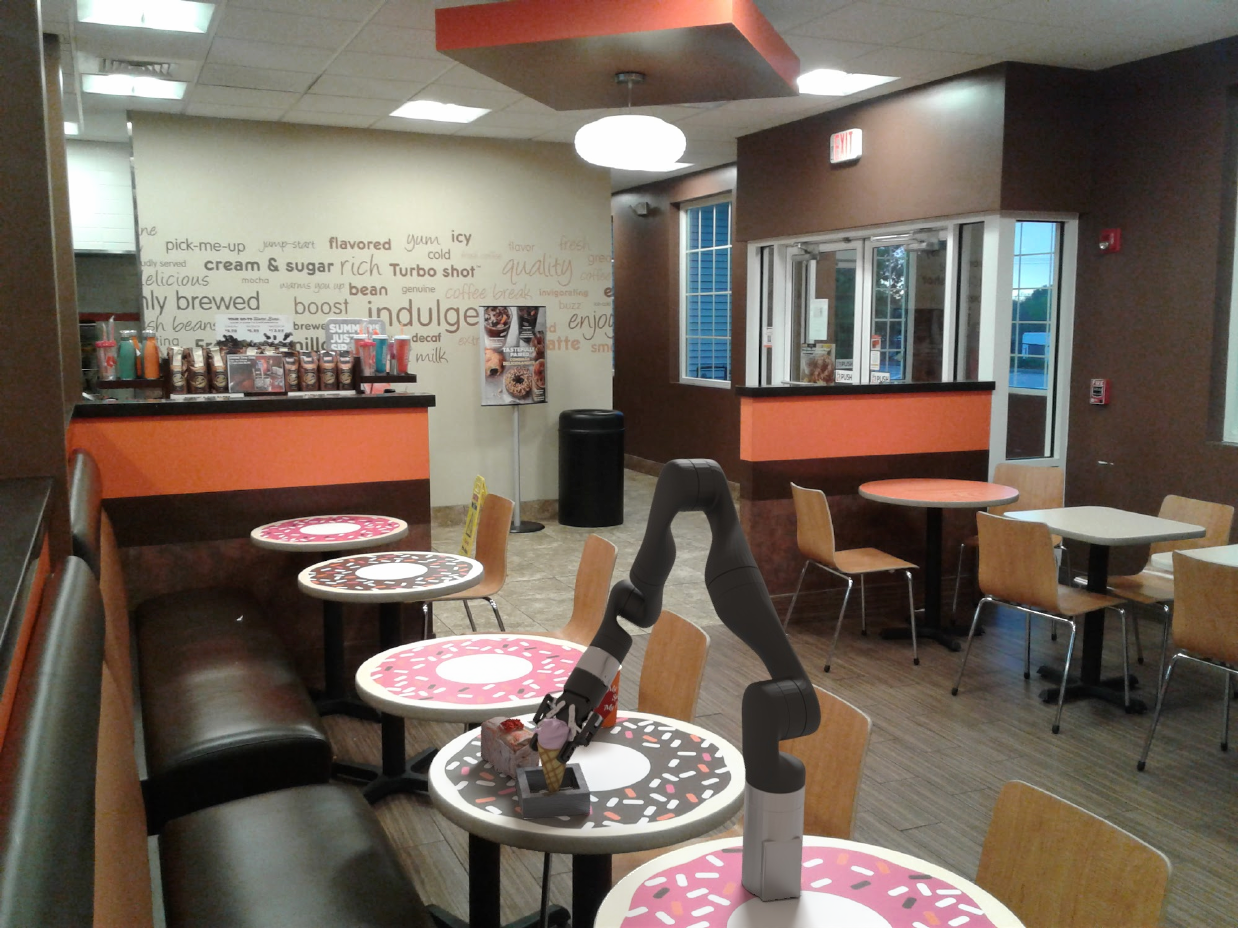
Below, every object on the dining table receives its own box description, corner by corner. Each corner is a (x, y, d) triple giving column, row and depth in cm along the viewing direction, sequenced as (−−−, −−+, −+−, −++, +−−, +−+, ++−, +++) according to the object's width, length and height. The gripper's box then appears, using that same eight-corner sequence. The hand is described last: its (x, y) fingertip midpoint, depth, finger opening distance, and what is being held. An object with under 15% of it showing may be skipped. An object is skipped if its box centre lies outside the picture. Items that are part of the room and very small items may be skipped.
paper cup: (617, 731, 213) (617, 668, 211) (582, 727, 214) (582, 665, 212) (624, 716, 220) (625, 656, 218) (590, 713, 222) (590, 653, 220)
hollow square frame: (590, 813, 178) (590, 792, 177) (522, 819, 175) (522, 798, 175) (578, 782, 189) (579, 762, 189) (515, 787, 187) (515, 767, 186)
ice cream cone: (528, 797, 180) (527, 719, 178) (544, 783, 186) (543, 706, 184) (561, 804, 178) (561, 725, 176) (576, 789, 184) (576, 712, 181)
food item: (547, 774, 193) (547, 725, 191) (513, 786, 188) (512, 736, 186) (507, 750, 203) (507, 704, 201) (473, 761, 198) (473, 714, 196)
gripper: (555, 657, 189) (508, 734, 182) (610, 676, 179) (563, 758, 173) (575, 676, 194) (530, 752, 187) (630, 696, 184) (584, 777, 177)
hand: (546, 755), depth 180 cm, fingers closed on ice cream cone, 6 cm apart
